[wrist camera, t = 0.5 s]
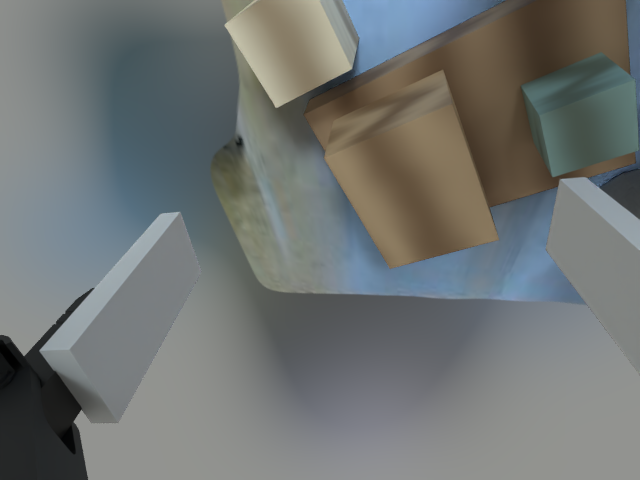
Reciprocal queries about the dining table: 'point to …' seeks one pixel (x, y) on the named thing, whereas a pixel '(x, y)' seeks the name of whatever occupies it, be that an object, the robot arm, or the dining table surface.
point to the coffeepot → (625, 191)
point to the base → (480, 122)
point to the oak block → (295, 44)
